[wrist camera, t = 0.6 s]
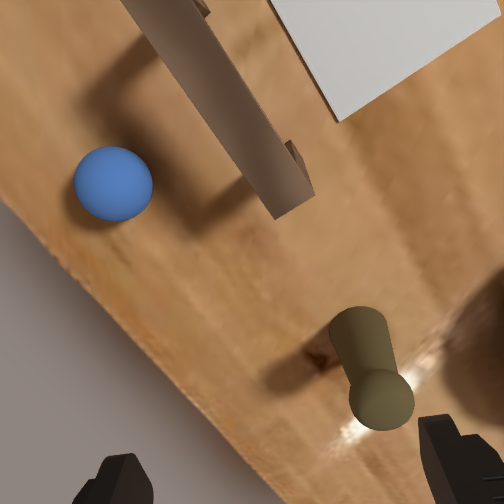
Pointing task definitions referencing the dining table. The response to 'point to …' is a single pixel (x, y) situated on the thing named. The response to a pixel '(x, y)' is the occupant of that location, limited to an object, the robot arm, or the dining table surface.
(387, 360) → the olive tall rounded piece
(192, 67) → the bridge
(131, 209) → the ball
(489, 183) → the dining table surface
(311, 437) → the dining table surface
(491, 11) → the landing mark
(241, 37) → the dining table surface
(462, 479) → the robot arm
